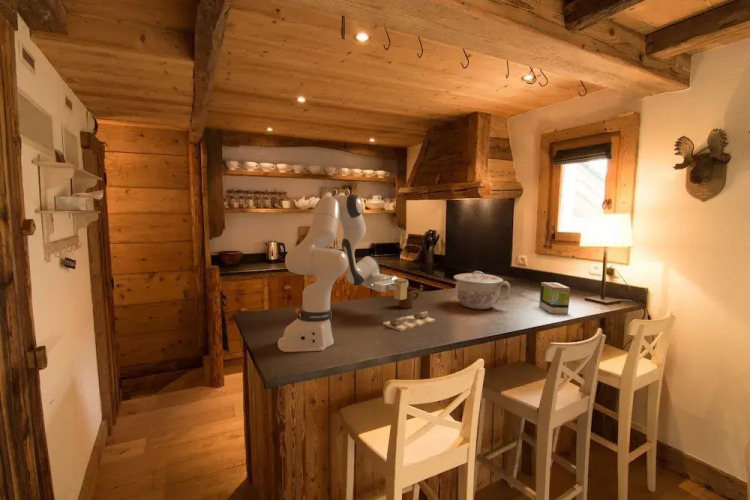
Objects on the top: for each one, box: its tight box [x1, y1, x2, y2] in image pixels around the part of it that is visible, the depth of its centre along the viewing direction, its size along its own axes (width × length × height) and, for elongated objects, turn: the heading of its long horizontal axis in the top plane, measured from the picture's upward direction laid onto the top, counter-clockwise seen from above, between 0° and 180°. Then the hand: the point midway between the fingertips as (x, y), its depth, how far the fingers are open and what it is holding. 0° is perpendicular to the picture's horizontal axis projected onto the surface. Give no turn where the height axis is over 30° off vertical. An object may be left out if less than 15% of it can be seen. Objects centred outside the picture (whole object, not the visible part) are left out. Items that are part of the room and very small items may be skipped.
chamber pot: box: [453, 270, 512, 311], centre depth 212 cm, size 28×28×21 cm
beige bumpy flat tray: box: [382, 310, 436, 332], centre depth 181 cm, size 24×12×4 cm, turn 130°
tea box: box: [538, 281, 571, 315], centre depth 208 cm, size 15×10×15 cm
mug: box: [398, 289, 420, 310], centre depth 209 cm, size 12×8×9 cm, turn 114°
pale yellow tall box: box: [393, 277, 408, 301], centre depth 182 cm, size 4×4×10 cm
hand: (401, 287), depth 182 cm, fingers closed on pale yellow tall box, 4 cm apart
